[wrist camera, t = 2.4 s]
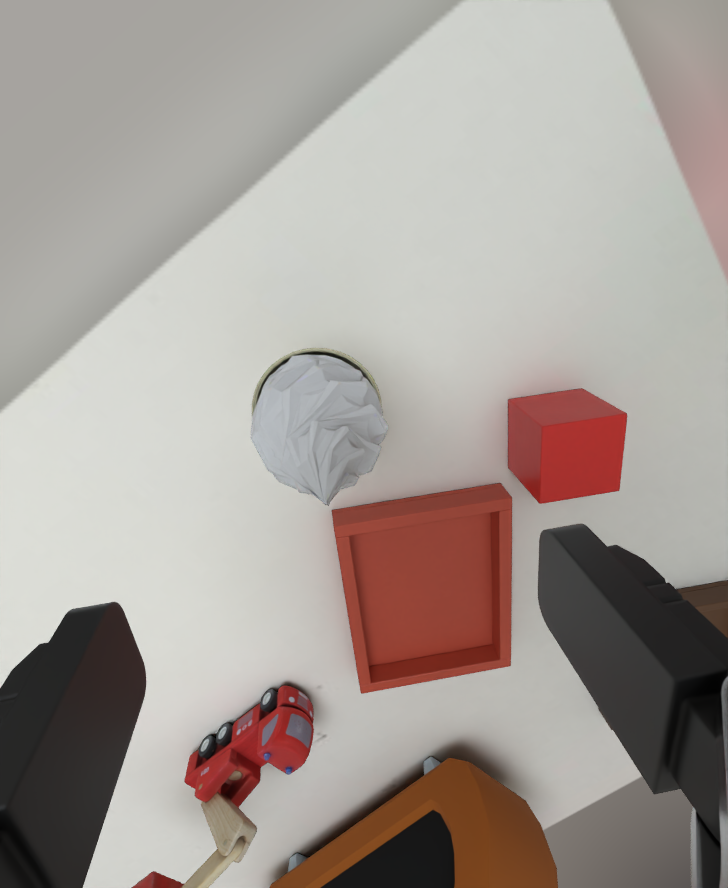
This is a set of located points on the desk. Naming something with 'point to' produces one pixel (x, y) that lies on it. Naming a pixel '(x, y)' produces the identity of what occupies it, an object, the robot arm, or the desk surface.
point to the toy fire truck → (242, 775)
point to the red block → (565, 444)
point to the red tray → (428, 585)
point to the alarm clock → (436, 839)
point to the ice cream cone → (317, 421)
